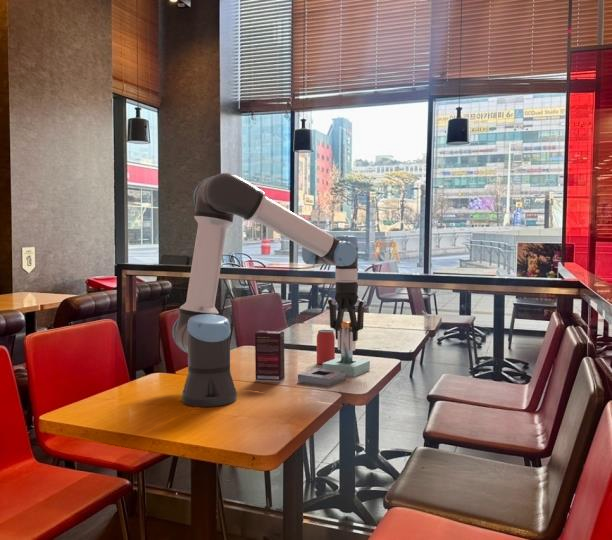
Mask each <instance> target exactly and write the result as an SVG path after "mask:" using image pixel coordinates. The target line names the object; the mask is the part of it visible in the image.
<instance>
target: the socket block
mask: <svg viewBox="0 0 612 540" xmlns="http://www.w3.org/2000/svg"><path fill="white" fill-rule="evenodd" d="M370 365H371V361H370V360H366V359H365V360H364V359H356V358H353V363H352V364H343V363H341V356H340V357H336V358H335V359H333V360H330V361H327V362H324V363H322V365H321V366H322V368H321V369H328V370H335V371H343V372H345V377H346V376H347V377H355V378H356V377H357V376H359V375H362V374H364V373H368V372H370V371H371V370H370V368H371V366H370ZM369 370H370V371H369ZM367 371H368V372H367Z"/></svg>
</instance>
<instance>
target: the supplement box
mask: <svg viewBox="0 0 612 540" xmlns="http://www.w3.org/2000/svg"><path fill="white" fill-rule="evenodd" d="M254 349H255V351H254V352H255V353H254V360H255V361H254V362H255V365H254V366H255V382H262V383H263V382H264V383H265V382H267V383H268V382H269V383H280V384H281V383H283V381H285V378H286V377H285V331H275V330H272V331H271V330H258V331H256V332H254Z"/></svg>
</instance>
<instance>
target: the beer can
mask: <svg viewBox="0 0 612 540" xmlns="http://www.w3.org/2000/svg"><path fill="white" fill-rule="evenodd" d="M335 341H336V335H335V334H334V331H333V330H332V329H319V330H318V332H317V334H316V363H317V364H318V365H320V364H322V363H324V362H327V361H330V360H333V359H336V358H335V357H336V354H335V353H336V351H335V350H336V347H335V346H336V345H335V344H336V342H335Z"/></svg>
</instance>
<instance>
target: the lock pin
mask: <svg viewBox="0 0 612 540" xmlns="http://www.w3.org/2000/svg"><path fill="white" fill-rule="evenodd" d="M351 330H352V327H351V322H350V320H345V321H344V320H343V321H342V322H341V350H340V357H341V363H343V364H352V363H353V359H354V358H353V352H354V351H350V332H351Z"/></svg>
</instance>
